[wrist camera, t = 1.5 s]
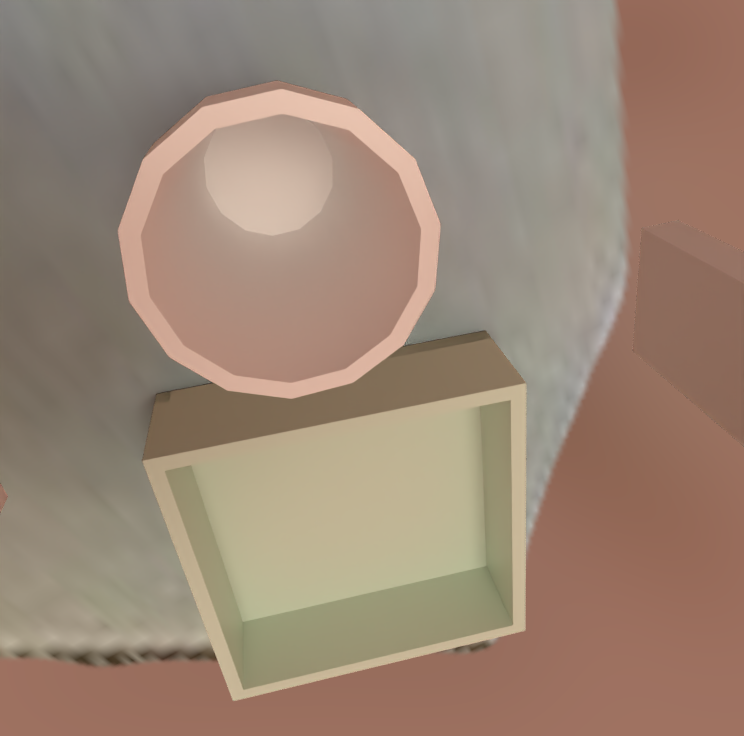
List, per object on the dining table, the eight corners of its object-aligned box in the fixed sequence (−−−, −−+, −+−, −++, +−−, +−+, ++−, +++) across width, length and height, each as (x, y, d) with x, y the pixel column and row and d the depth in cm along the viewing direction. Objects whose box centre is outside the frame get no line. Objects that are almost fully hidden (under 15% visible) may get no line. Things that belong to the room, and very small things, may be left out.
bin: (233, 620, 44) (233, 701, 39) (156, 394, 35) (142, 460, 30) (493, 560, 46) (525, 630, 41) (485, 330, 37) (526, 383, 31)
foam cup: (153, 54, 27) (94, 85, 16) (369, 60, 29) (452, 91, 18) (179, 268, 32) (146, 408, 21) (363, 262, 33) (426, 390, 22)
